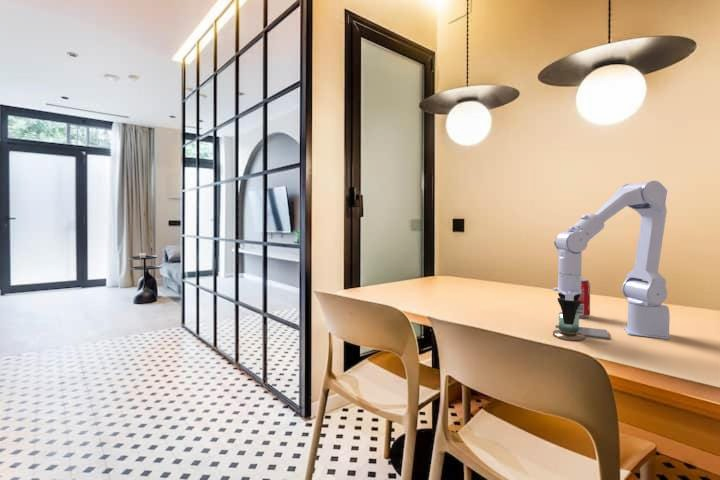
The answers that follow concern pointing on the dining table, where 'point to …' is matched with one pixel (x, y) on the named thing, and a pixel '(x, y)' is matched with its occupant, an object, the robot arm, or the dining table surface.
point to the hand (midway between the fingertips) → (568, 320)
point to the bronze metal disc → (568, 335)
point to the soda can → (584, 299)
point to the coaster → (595, 333)
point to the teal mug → (567, 326)
